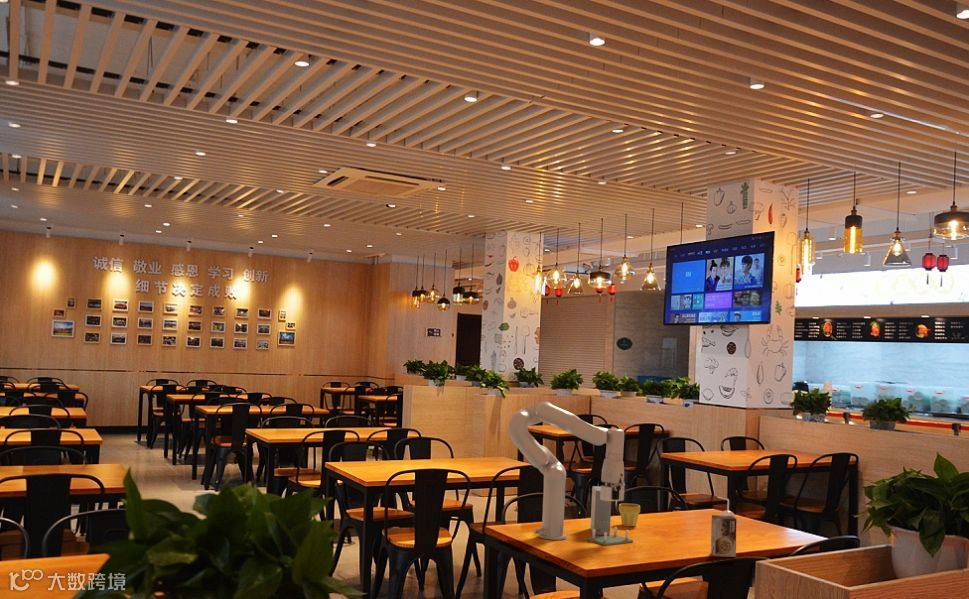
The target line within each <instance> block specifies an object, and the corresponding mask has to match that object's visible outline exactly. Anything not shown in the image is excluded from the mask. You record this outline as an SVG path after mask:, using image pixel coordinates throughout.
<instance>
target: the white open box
mask: <svg viewBox="0 0 969 599" xmlns="http://www.w3.org/2000/svg"><path fill="white" fill-rule="evenodd" d="M600 487H601V492H600V500H603V501H611V502H624V500H625V486H623V487H622V488H621V490H620V491H619V500H613V491H615V490H614V485H611V486H604V485H600Z"/></svg>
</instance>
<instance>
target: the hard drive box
mask: <svg viewBox="0 0 969 599" xmlns="http://www.w3.org/2000/svg"><path fill="white" fill-rule="evenodd" d="M600 492H601V486H595V485H593V486H592V488H591V505H590V506H591V509H590V530H591V532H592V533H593V529H595V536H596V535H600V536H604V533H607V536H611V535H610V534H611V522H612V521H611V520H612V519H611V517H612V515H611V514H612V501H603V500H600Z"/></svg>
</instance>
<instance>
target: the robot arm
mask: <svg viewBox="0 0 969 599" xmlns="http://www.w3.org/2000/svg"><path fill="white" fill-rule="evenodd" d="M542 422H543V423H546V424H548V425H551V426H553V427H555V428H558V429H559V430H562V431H563V432H566V433H567V434H570V435H573V436H575V437H577V438H579V439H581V440H583V441H585V442H587V443H589V444H591V445H595V446H603V445H605V444H606V450H605V458H604V460H603V463H602V467H601V468H602V469H601V478H600V481H601V482H602V484H603V486H612V484H613V486H614V490H615V491H613V500H619V491H620V490H621V488H622V487H625V486H626V483H625V465H624V461H623V460H624V447H625V446H624V443H625V431H624V429H621V428H606V427H603V426H595V425H592V424H591V423H588V422H587V421H585V420H583V419H581V418H580V417H579V416H577V415H576V414H574V413H573V412H569V411H568V410H565V409H563V408H562V407H561V408H560V407H558V406H556V405H554V404H552V402H549V401H541V402H539V403H536V404H534V405H530V406H527V407H524V408H521V409H519V410H517V411H515V412H513V414H512V416H511V418H510V420H509V422H508V427H507V429H508V435H509V437H510V439H511V442H512V443H513V444H514V445H515V446H516V448H517V449H518V450H519V451H520V453H521V454H522V455H523V456H524V457H525V459H526V460H527V461H528V462H529V463H530V465H531V466H533V468H536V469H538V471H539V472H540V473H541V474H542V475H543V498H542V518H541V519H542V522H541V525H540V526H539V528H534V529H533V532H532V533H533V534H535V535H537V536H538V538H541V539H545V540H553V541H556V540H557V541H559V540H560V541H561V540H565V539H567V537H568V536H567V534H565V533H564V524H565V504H566V503H565V502H566V498H565V497H566V479H567V471H566V468H565V466H564V465H563V464H562V463H561V461H559V459H557V457H556V456H555V455H554V454H553V453H552V452H551V450H550V449H548V447H546V446H544V445H541V444H540V443H539V442H538V441H537V440H536V439H535V437H534V436H533V435H532V434H531V433H530V432H529V429H528V427H531V426H533V425H536V424H539V423H542Z"/></svg>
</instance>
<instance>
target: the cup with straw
mask: <svg viewBox="0 0 969 599" xmlns="http://www.w3.org/2000/svg"><path fill="white" fill-rule="evenodd" d="M717 498H718V499H722V500H726V501H727V506H726V510H723V511H722V512H720V514H719V515H724V516H733V517H735V518H736V519H737V520H738V518H737V517H736V515H735V513H734V511H731V510H730V499H729V498H726V497H723V496H719V495H717V496H716V499H717Z"/></svg>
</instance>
